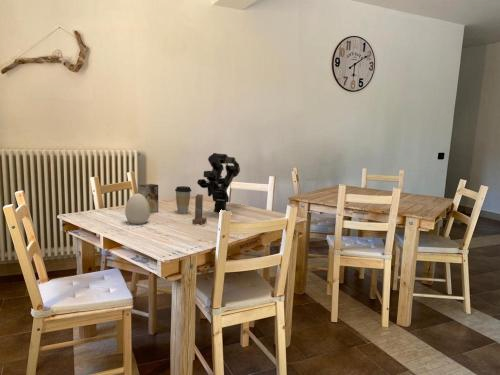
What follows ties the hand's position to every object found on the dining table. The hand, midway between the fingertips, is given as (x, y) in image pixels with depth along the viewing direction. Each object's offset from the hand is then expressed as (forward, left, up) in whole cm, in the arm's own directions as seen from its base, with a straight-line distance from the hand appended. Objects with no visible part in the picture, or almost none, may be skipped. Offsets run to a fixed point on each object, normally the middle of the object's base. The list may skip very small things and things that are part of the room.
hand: (209, 196), depth 211 cm
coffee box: (+21, -29, -12) cm, 38 cm away
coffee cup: (+5, -18, -12) cm, 22 cm away
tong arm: (+12, +8, -10) cm, 18 cm away
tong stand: (+12, +8, -12) cm, 19 cm away
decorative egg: (+37, -11, -12) cm, 41 cm away
